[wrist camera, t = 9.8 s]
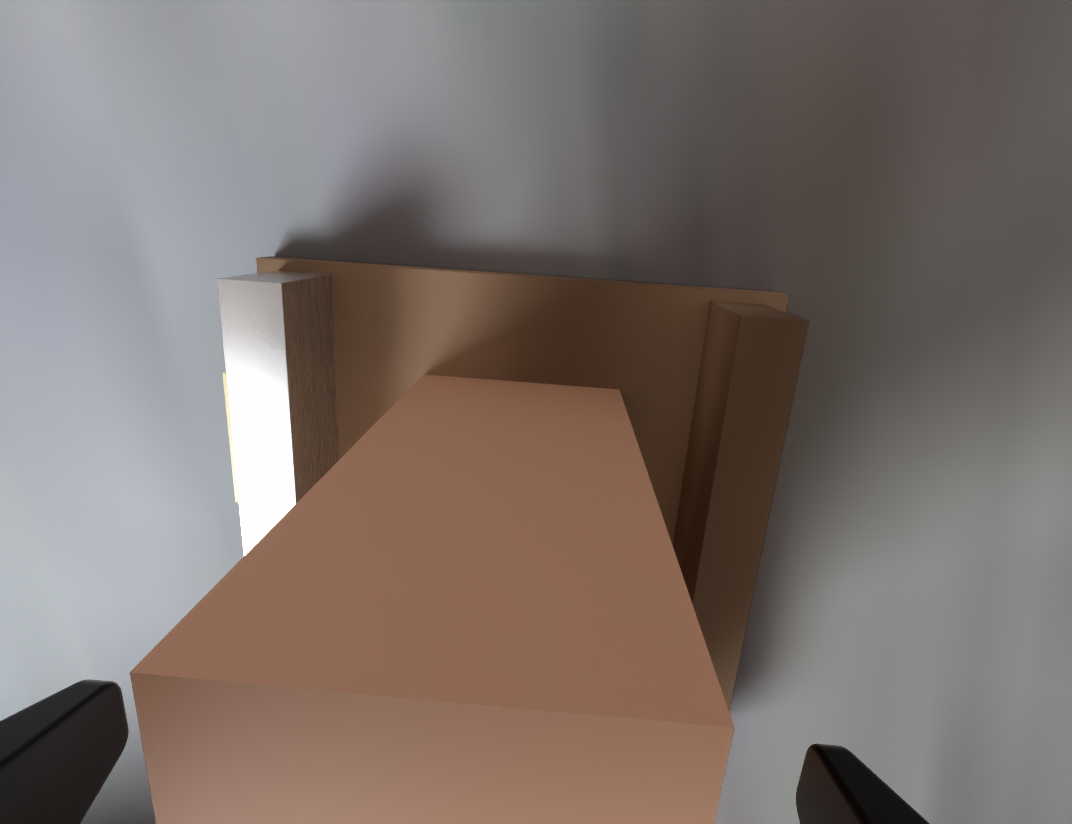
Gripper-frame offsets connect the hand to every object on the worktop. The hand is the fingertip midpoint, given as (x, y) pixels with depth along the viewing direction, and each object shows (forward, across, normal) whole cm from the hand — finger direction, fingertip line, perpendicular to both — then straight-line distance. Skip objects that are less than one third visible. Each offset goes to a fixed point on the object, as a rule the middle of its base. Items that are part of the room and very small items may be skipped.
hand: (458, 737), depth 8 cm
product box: (+5, 0, 0) cm, 5 cm away
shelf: (+6, 0, 0) cm, 6 cm away
